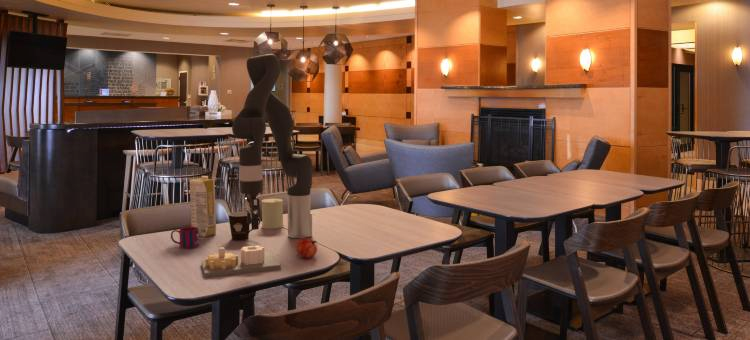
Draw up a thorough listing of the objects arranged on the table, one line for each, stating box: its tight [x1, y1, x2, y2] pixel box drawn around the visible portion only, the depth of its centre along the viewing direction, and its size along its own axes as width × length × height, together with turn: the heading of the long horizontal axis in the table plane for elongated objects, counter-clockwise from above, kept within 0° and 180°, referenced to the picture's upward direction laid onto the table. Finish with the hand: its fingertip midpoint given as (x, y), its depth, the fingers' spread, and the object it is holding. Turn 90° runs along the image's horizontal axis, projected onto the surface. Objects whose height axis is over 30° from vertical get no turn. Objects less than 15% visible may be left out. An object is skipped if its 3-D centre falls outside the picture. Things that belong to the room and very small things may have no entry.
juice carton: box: [189, 175, 217, 238], centre depth 225 cm, size 9×8×24 cm
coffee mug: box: [228, 211, 261, 242], centre depth 219 cm, size 12×9×10 cm
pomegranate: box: [295, 237, 318, 259], centre depth 195 cm, size 7×7×10 cm
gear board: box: [200, 246, 282, 278], centre depth 184 cm, size 24×14×7 cm, turn 111°
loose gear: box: [240, 245, 265, 265], centre depth 186 cm, size 8×6×4 cm
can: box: [261, 198, 284, 230], centre depth 240 cm, size 9×9×12 cm
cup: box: [170, 226, 200, 250], centre depth 209 cm, size 7×10×7 cm
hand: (252, 226), depth 184 cm, fingers open, 8 cm apart
